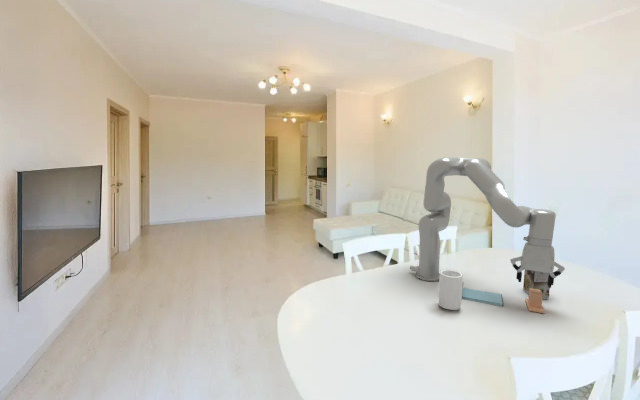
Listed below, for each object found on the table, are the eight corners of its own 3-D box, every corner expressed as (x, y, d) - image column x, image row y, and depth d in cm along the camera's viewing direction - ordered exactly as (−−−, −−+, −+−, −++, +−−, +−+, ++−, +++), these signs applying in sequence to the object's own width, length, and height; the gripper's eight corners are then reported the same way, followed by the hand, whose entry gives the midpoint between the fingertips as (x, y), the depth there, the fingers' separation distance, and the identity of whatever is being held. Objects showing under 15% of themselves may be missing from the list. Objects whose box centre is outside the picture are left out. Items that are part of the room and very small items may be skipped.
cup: (460, 304, 121) (461, 270, 119) (462, 314, 113) (464, 278, 111) (437, 301, 124) (438, 268, 122) (438, 311, 116) (439, 275, 114)
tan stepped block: (528, 310, 115) (529, 295, 115) (525, 300, 124) (526, 285, 123) (544, 313, 113) (546, 297, 112) (539, 302, 122) (541, 287, 121)
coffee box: (549, 299, 125) (553, 262, 123) (532, 298, 126) (535, 261, 124) (538, 290, 134) (541, 255, 132) (522, 289, 135) (525, 254, 133)
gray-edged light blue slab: (453, 298, 126) (454, 291, 126) (455, 287, 138) (456, 280, 137) (503, 308, 118) (504, 300, 118) (501, 295, 129) (502, 288, 129)
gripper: (514, 240, 116) (508, 282, 119) (570, 247, 108) (563, 292, 111) (512, 236, 123) (507, 275, 125) (565, 242, 115) (559, 284, 117)
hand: (533, 283), depth 118 cm, fingers open, 9 cm apart
